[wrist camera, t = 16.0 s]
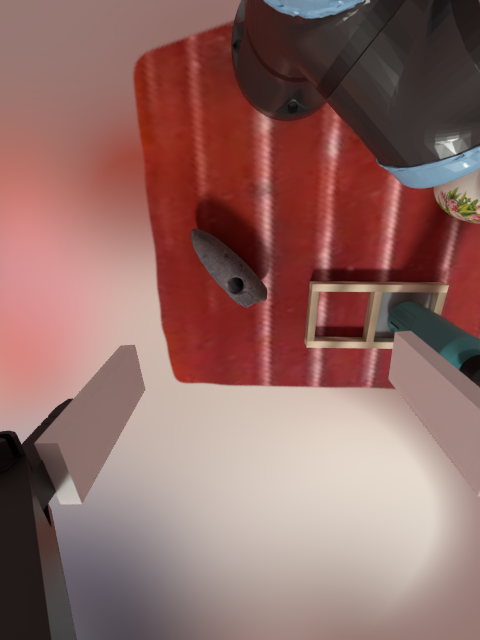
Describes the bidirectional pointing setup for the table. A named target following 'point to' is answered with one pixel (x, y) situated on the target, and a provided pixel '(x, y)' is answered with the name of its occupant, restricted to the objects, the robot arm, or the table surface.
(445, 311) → the table surface
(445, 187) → the pitcher
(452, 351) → the beverage bottle
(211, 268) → the perforated stone tool
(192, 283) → the table surface
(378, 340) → the bottle rack
